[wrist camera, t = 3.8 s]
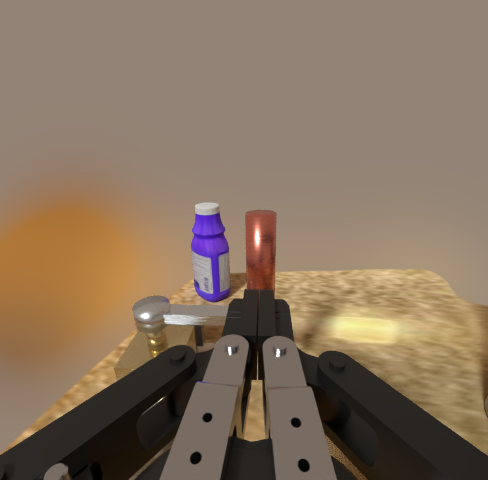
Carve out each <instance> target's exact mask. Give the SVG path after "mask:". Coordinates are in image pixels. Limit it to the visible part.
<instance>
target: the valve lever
mask: <svg viewBox="0 0 488 480" xmlns="http://www.w3.org/2000/svg"><path fill="white" fill-rule="evenodd" d="M245 223H246V269H247V270H246V272H247V289H259V296H260V289H268V290H274V299H275V256H276V212H273V211H269V210H253V211H249V212H247V213H246V214H245ZM228 307H229V306H216V305H178V304H170V303H169V300H168V299H167V298H166V297H164V296H150V297H146V298H143V299H141V300H139V301H138V302H137V303H135V305H134V306H133V314H134V320H135V325H136V328H137V330H138V331H140V332H143V333H153V332H157V331H160V330H162V329H164V328H165V327H167V326H168V325H169V324H184V325H214V326H224V325H225V320H226V316H227V312H228Z"/></svg>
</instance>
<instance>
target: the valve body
mask: <svg viewBox="0 0 488 480" xmlns="http://www.w3.org/2000/svg"><path fill="white" fill-rule="evenodd" d="M204 342H205V333H204V325H184V324H169V325H168V326H167V327H165V328H164V329H162V330H160V331H157V332H153V333H143V332H140V331H138V332H137V334H136V335H135V337H134V338H133V340H132V341H131V343H130V344H129V346H128V347H127V349H126V350H125V352H124V353H123V355H122V356H121V358H120V359H119V361H118V362H117V364H116V365H115V367H114V370H115V374H116V378H117V381H118V380H120V379H121V378H123V377H124V376H126V375H127V374H129V373H131V372H132V371H134V370H135V369H137V368H138V367H140V366H142V365H143V364H145V363H146V362H148V361H149V360H151V359H153V358H154V357H156V356H157V355H159V354H160V353H162V352H164V351H165V350H167V349H168V348H170V347H173V346H176V345H187V346H190V347H191V348H193V349H194V351H195V353H198V348H197V346H202V347H203V345H204ZM163 398H164V397H163ZM163 398H162V399H163ZM162 399H161V400H162ZM161 400H159V401H161ZM159 401H158V402H159ZM158 402H157V403H158ZM157 403H156V404H157ZM154 405H155V404H154ZM154 405H153V406H154ZM153 406H152V407H153ZM150 408H151V407H150ZM150 408H149V409H150ZM149 409H148V410H149ZM148 410H146V411H148ZM146 411H145V412H146ZM145 412H144V413H145ZM144 413H143V414H144ZM172 444H173V439H172V440H171V441H170V442H169V443H168V444H167V445H166V446H165V447H164V448H163V449H162V450H160V451H159V452H158V453H157V454H156V455H155V456H154V457H153V458H152V459H151V460H150V461H148V462H147V463H146V464H145V465H144V466H143V467H142V468H141V469H140V470H139V471H137V472H136V473H135V474H134V475H133V476H132V477H131V478H130V479H129V480H134V479H135V478H136V477H137V476H138V475H139V474H140V473H141V472H142V471H143V470H144V469H146V468H147V467H148V466H149V465H150V464H151V463H152V462H153V461H154V460H155V459H156V458H157V457H158V456H160V455H161V454H162V453H163V452H165V451H167V450H168V449H170V448H171V447H172Z"/></svg>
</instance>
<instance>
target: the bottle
mask: <svg viewBox="0 0 488 480" xmlns="http://www.w3.org/2000/svg"><path fill="white" fill-rule="evenodd" d="M195 213H196V219H195V224H194V227H193V229H192V232H193V233H194V237H193V240H192V243H191V249H192V258H193V259H192V260H193V271H194V283H195V284H194V286H195V289H196V292H197V293H198V295H199V296H201V297H202V298H203V299H205V300H207V301H211V302H215V301H219V300H221V299H223V298H225V297H227V296H228V294H229V292H230V268H229V267H230V266H229V246H228V242H227V240H226V238H225V236H224V234H223V233H224V231H225V227H224V226H223V224H222V222H221V219H220V211H219V204H217V203H200V204H197V205H195Z"/></svg>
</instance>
